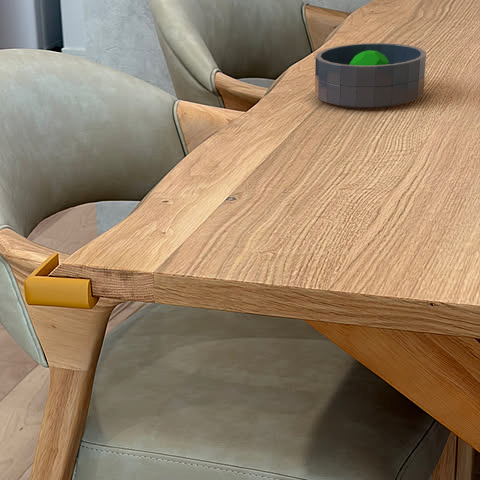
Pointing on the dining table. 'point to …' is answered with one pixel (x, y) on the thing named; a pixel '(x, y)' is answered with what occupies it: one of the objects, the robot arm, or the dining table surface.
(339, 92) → the bowl
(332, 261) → the dining table surface
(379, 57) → the polyhedron
